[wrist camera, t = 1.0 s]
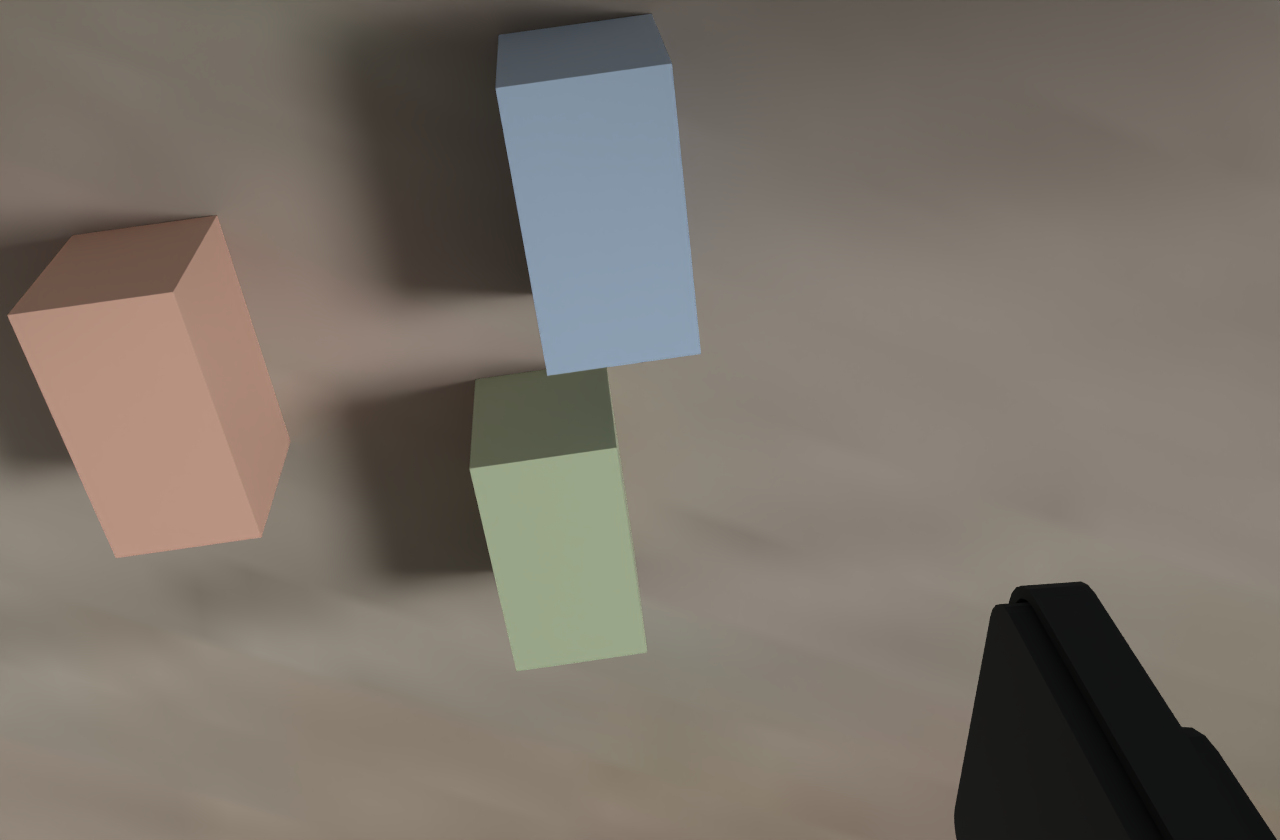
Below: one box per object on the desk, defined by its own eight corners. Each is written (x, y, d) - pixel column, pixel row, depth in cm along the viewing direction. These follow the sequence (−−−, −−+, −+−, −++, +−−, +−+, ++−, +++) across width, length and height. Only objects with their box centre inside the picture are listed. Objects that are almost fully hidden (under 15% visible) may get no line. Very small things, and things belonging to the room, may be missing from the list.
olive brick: (605, 358, 29) (616, 447, 25) (634, 550, 32) (647, 652, 29) (475, 376, 29) (469, 468, 25) (517, 567, 32) (516, 671, 29)
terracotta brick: (218, 213, 26) (173, 292, 23) (291, 438, 29) (261, 537, 26) (73, 233, 26) (7, 315, 23) (162, 457, 29) (116, 557, 26)
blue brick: (650, 11, 25) (671, 63, 21) (678, 273, 28) (700, 353, 24) (498, 33, 25) (495, 87, 21) (543, 292, 28) (547, 375, 24)
